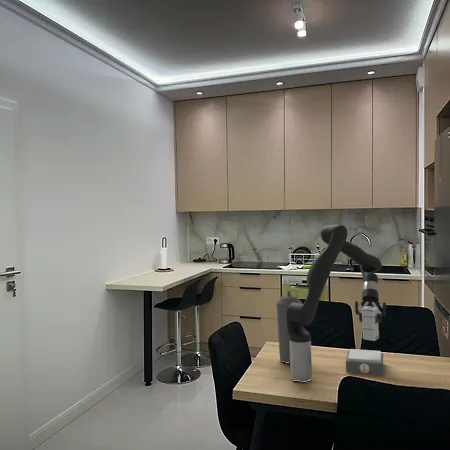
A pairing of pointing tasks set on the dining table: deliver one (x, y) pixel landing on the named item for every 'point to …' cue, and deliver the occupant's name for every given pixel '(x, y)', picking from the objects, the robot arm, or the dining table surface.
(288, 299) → the canister
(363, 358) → the kitchen scale
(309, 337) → the robot arm
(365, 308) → the syrup box
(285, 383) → the dining table surface
